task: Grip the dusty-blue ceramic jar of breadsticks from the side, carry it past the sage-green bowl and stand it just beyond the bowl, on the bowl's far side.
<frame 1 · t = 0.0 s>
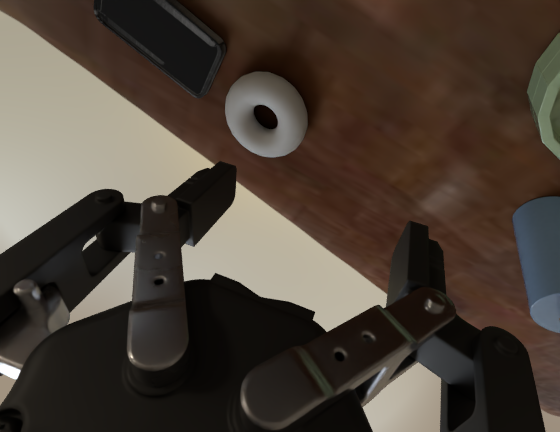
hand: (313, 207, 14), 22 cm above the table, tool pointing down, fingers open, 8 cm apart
phone: (162, 29, 36), on the table
donut: (271, 110, 38), on the table
breadstick jar: (546, 218, 34), on the table
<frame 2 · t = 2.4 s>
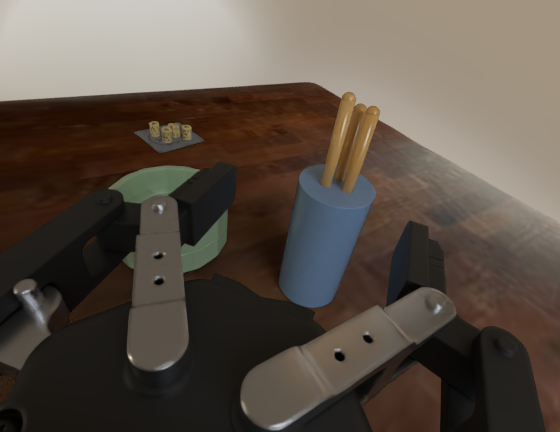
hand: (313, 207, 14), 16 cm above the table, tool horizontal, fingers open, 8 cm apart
bowl: (173, 237, 34), on the table
carved rune cylinders: (170, 137, 52), on the table
breadstick jar: (307, 282, 32), on the table
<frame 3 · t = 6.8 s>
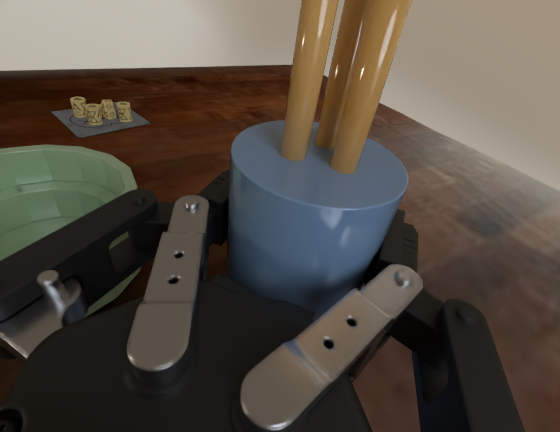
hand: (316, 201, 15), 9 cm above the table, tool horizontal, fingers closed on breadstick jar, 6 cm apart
bowl: (51, 263, 20), on the table
carved rune cylinders: (102, 119, 38), on the table
breadstick jar: (275, 343, 18), on the table, touching gripper
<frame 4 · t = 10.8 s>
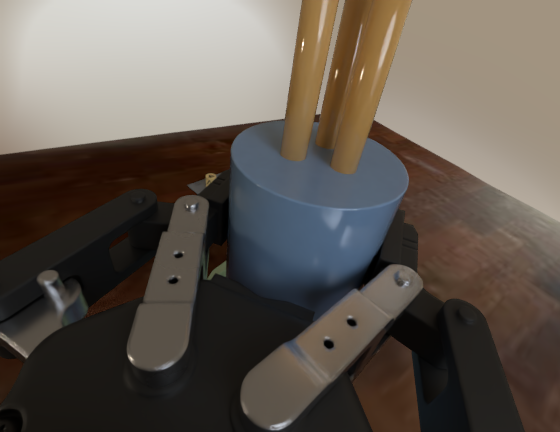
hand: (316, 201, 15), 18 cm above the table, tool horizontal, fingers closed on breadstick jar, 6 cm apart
carved rune cylinders: (227, 190, 46), on the table
breadstick jar: (276, 343, 18), point 9 cm above the table, touching gripper
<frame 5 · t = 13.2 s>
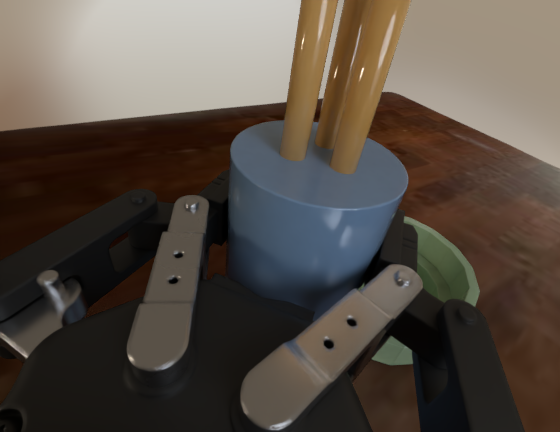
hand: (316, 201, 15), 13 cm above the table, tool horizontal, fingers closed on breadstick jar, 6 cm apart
bowl: (374, 301, 27), on the table
breadstick jar: (275, 343, 18), point 5 cm above the table, touching gripper
when the fingers open (9 cm above the table, at t = 15.1 s): breadstick jar stays where it is, on the table.
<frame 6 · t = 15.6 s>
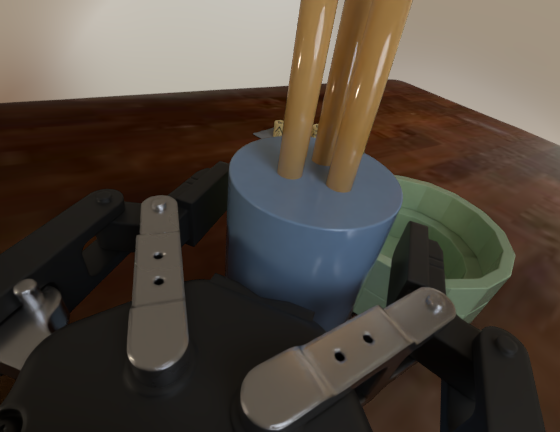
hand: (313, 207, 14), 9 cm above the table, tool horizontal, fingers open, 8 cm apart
bowl: (391, 274, 24), on the table
carved rune cylinders: (295, 140, 42), on the table
breadstick jar: (274, 352, 18), on the table
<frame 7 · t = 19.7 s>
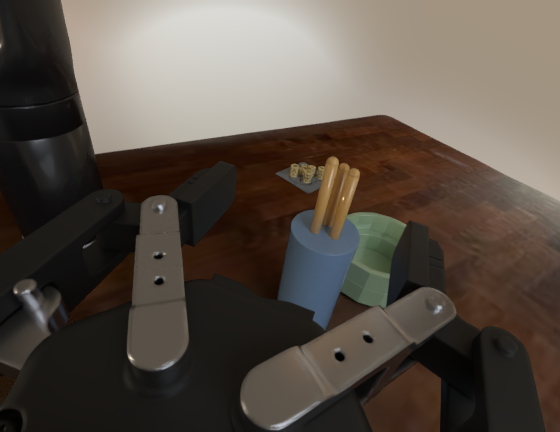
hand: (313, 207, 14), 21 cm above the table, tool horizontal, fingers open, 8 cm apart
bowl: (367, 273, 41), on the table
carved rune cylinders: (305, 177, 58), on the table
breadstick jar: (301, 313, 35), on the table
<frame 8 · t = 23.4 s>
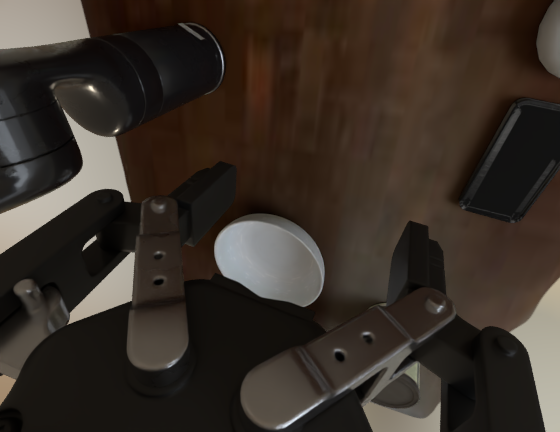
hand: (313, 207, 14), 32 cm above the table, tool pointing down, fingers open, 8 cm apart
phone: (516, 163, 39), on the table
coffee can: (392, 320, 62), on the table
serving bowl: (279, 245, 62), on the table
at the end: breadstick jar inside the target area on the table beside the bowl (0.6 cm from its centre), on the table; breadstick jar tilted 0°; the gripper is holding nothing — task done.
